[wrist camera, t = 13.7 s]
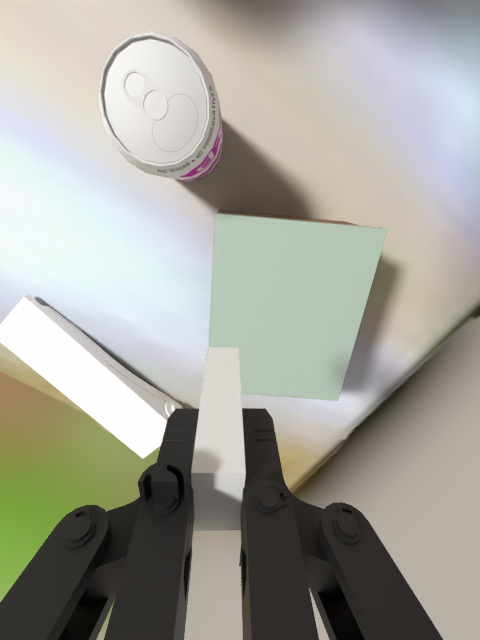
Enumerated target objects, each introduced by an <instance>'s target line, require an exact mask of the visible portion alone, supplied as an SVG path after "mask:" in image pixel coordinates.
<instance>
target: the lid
mask: <svg viewBox="0 0 480 640" xmlns="http://www.w3.org/2000/svg"><path fill="white" fill-rule="evenodd" d="M386 234H387V229H384V228H376V227H365V226H354V225H343V224H333V223H322V222H311V221H300V220H289V219H278V218H268V217H257V216H246V215H235V214H224V213H215V228H214V249H213V270H212V291H211V312H210V333H209V347H228V348H239V365H240V382H241V394H249V395H263V396H277V397H291V398H305V399H320V400H334V401H338V400H339V396H340V393H341V389H342V386H343V382H344V379H345V375H346V372H347V368H348V365H349V361H350V358H351V355H352V351H353V348H354V344H355V341H356V337H357V334H358V330H359V327H360V323H361V320H362V317H363V313H364V310H365V306H366V303H367V299H368V296H369V292H370V289H371V285H372V282H373V278H374V275H375V272H376V268H377V265H378V261H379V258H380V254H381V251H382V247H383V244H384V240H385V237H386Z"/></svg>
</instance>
